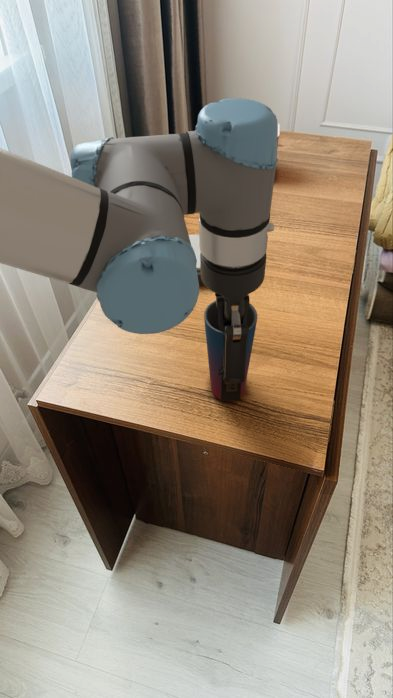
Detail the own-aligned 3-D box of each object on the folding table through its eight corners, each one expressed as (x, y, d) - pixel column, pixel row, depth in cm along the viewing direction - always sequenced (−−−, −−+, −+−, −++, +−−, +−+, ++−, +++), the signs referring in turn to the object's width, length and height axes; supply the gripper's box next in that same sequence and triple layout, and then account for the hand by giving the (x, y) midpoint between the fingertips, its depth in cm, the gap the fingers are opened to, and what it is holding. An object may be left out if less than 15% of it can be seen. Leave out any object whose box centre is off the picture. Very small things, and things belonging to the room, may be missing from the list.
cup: (258, 382, 75) (266, 308, 64) (236, 413, 71) (241, 341, 60) (219, 364, 78) (221, 290, 67) (196, 393, 74) (193, 321, 63)
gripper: (280, 305, 50) (262, 433, 67) (255, 203, 62) (246, 332, 79) (205, 309, 49) (206, 436, 67) (196, 206, 62) (199, 335, 79)
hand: (228, 380), depth 73 cm, fingers closed on cup, 6 cm apart
